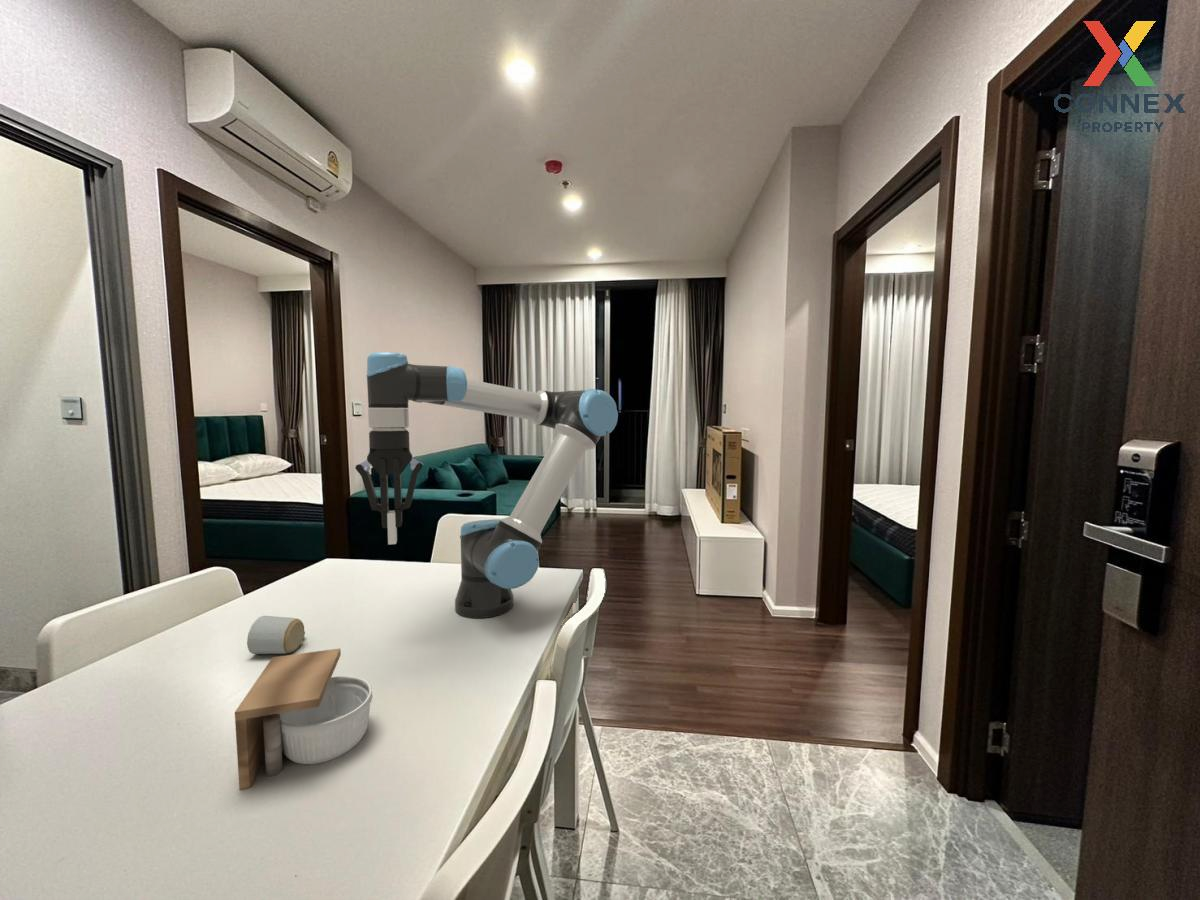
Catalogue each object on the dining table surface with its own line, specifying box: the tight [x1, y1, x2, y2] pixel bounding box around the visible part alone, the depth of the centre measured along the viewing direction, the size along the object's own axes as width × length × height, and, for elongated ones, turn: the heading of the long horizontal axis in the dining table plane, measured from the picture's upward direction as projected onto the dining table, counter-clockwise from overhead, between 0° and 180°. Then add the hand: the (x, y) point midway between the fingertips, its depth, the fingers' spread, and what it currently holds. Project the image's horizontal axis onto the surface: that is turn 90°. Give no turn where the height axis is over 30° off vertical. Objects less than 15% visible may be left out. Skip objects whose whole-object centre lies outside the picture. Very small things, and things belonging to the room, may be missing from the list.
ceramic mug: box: [246, 615, 306, 655], centre depth 104 cm, size 11×8×8 cm
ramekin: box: [278, 675, 373, 765], centre depth 75 cm, size 13×13×7 cm
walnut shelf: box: [234, 648, 342, 790], centre depth 73 cm, size 10×15×11 cm, turn 18°
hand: (392, 542), depth 99 cm, fingers closed
